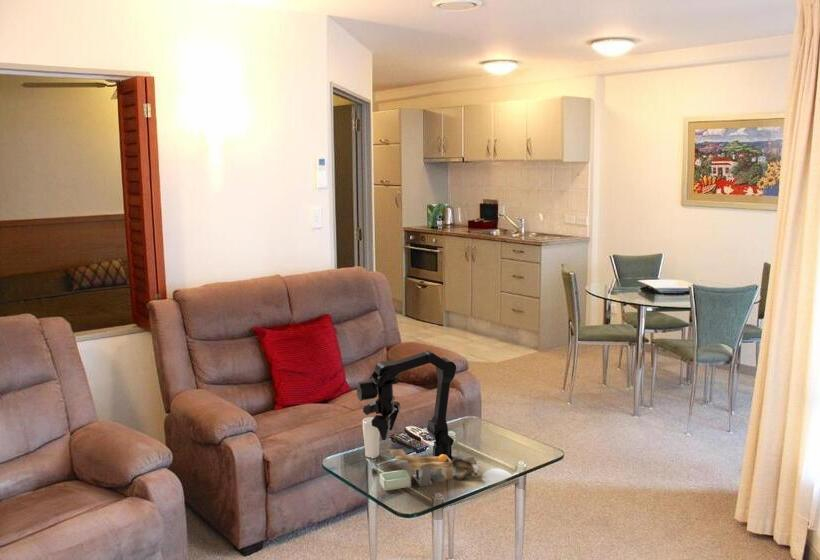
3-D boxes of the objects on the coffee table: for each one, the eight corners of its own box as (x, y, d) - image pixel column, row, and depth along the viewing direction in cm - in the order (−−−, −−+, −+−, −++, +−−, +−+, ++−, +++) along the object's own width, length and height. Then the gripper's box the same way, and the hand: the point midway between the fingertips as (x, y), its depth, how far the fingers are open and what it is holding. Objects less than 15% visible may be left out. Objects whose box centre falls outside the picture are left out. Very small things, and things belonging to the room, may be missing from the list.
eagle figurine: (471, 465, 275) (449, 465, 273) (478, 455, 271) (456, 454, 268) (476, 483, 270) (453, 483, 267) (483, 473, 266) (460, 472, 263)
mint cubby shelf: (405, 478, 269) (405, 469, 268) (411, 486, 262) (411, 477, 262) (379, 482, 266) (379, 473, 265) (384, 490, 259) (384, 481, 259)
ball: (444, 461, 270) (445, 452, 270) (447, 464, 267) (448, 456, 267) (436, 460, 269) (437, 452, 269) (439, 464, 266) (440, 456, 266)
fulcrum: (446, 470, 274) (446, 453, 273) (454, 481, 266) (454, 463, 265) (412, 475, 271) (412, 458, 269) (420, 486, 262) (419, 468, 261)
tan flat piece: (438, 452, 279) (438, 446, 279) (451, 468, 266) (451, 461, 266) (389, 454, 273) (389, 448, 273) (400, 470, 260) (400, 463, 260)
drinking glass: (373, 461, 283) (372, 424, 280) (359, 456, 287) (358, 420, 284) (384, 455, 289) (383, 419, 286) (371, 450, 293) (370, 415, 290)
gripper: (372, 386, 283) (374, 424, 286) (356, 403, 265) (359, 444, 268) (399, 387, 280) (401, 425, 283) (386, 405, 262) (388, 446, 265)
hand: (387, 435), depth 275 cm, fingers open, 9 cm apart
